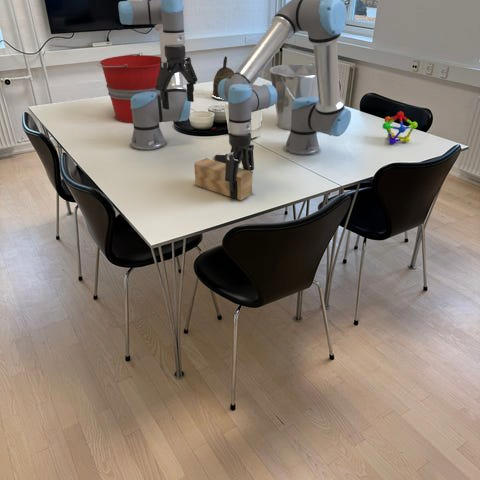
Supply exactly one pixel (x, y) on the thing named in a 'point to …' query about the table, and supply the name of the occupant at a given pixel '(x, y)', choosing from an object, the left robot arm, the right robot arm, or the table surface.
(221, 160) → the smartphone
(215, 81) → the bell
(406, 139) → the educational toy
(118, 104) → the bucket
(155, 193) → the table surface
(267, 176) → the table surface
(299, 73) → the bucket
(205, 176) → the box
